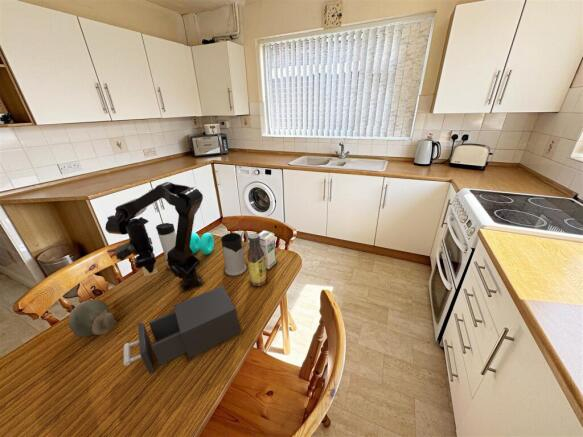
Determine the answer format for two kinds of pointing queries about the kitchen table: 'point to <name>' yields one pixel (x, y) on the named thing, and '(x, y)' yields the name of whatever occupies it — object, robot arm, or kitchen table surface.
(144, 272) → the block
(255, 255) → the sauce bottle
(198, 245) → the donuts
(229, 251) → the grey black mug
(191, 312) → the dark grey box
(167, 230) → the travel mug
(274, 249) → the syrup box
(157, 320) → the open drawer
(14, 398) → the kitchen table surface
